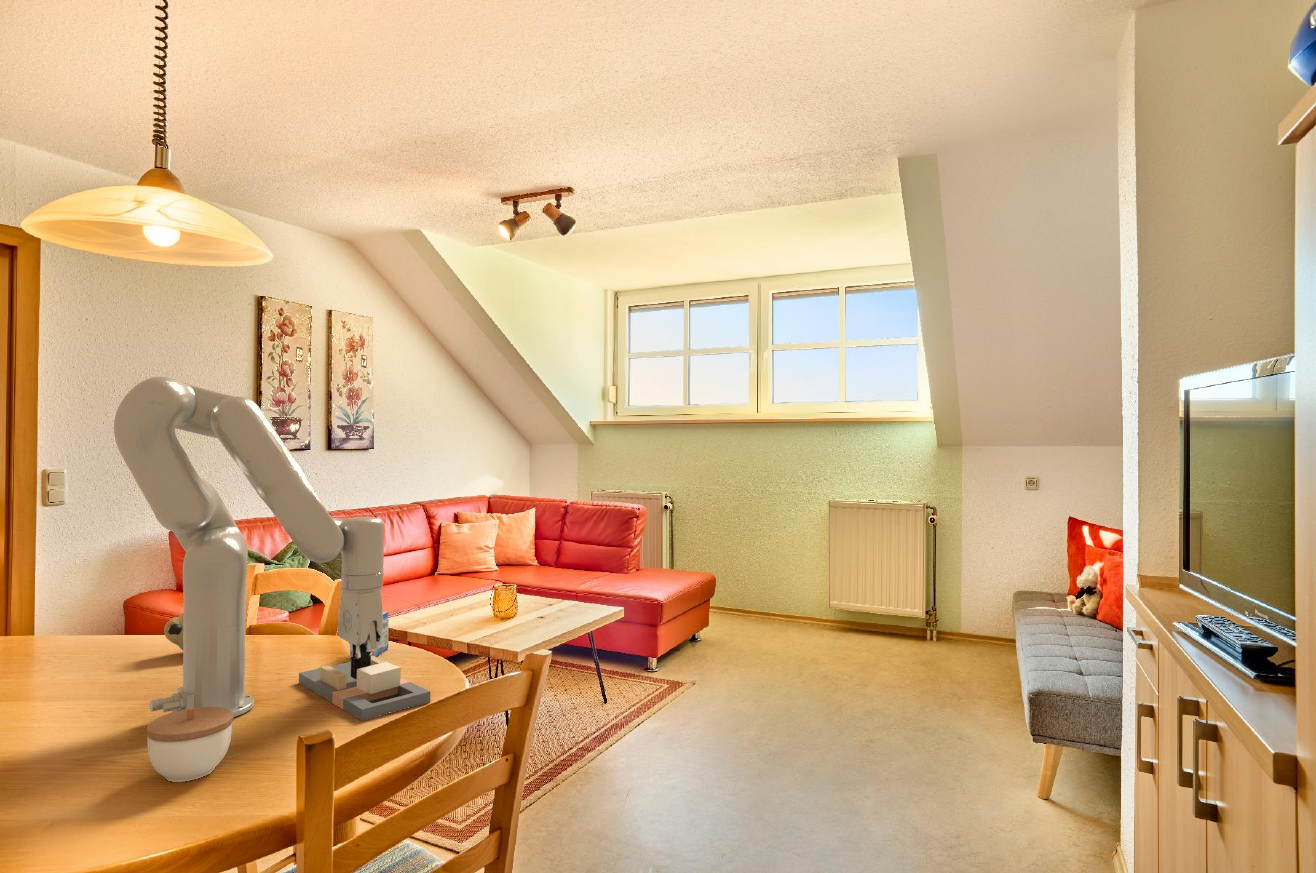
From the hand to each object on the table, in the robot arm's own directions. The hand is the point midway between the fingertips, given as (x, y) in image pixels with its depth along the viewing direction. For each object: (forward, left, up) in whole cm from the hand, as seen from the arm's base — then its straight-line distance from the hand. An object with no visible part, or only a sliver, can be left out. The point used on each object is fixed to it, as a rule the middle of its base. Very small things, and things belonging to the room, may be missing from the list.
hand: (360, 676), depth 144 cm
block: (+1, -6, -1) cm, 6 cm away
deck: (0, -1, -3) cm, 3 cm away
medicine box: (+13, +22, -3) cm, 26 cm away
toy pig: (-15, +48, -3) cm, 50 cm away
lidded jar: (-33, -16, -3) cm, 37 cm away
